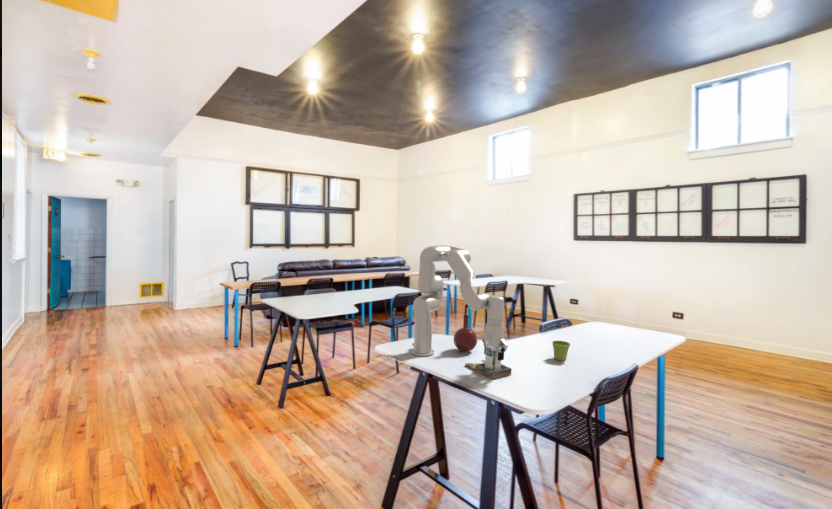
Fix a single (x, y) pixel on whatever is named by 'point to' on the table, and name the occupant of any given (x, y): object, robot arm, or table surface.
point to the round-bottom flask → (465, 337)
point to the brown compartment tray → (480, 368)
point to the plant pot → (560, 349)
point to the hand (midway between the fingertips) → (493, 357)
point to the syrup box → (492, 358)
